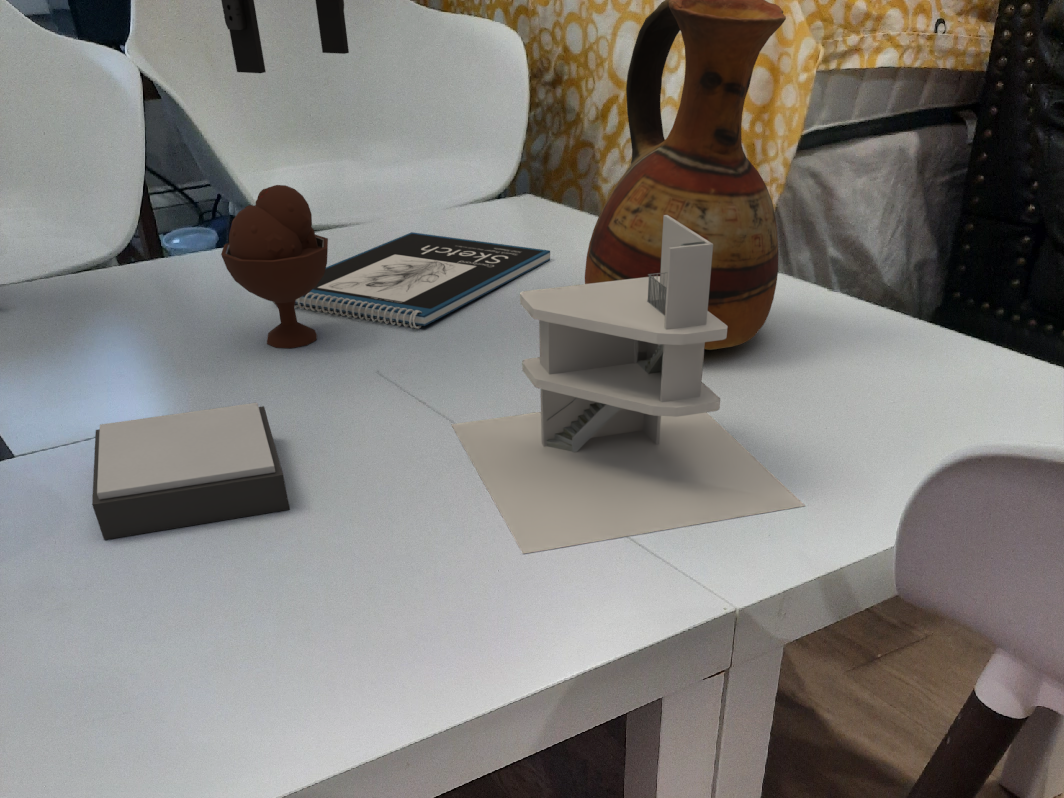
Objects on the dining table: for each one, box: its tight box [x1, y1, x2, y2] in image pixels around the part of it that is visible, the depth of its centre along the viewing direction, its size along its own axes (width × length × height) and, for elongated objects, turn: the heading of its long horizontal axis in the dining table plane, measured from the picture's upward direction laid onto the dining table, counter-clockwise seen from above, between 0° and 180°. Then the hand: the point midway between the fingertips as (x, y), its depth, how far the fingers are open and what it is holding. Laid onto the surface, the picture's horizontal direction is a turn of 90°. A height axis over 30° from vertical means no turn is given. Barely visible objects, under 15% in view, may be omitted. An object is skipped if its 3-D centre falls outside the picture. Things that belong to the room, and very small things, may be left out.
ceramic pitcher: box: [584, 0, 787, 351], centre depth 98 cm, size 20×20×30 cm
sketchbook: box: [272, 231, 551, 330], centre depth 123 cm, size 22×30×2 cm
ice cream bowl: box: [220, 184, 329, 349], centre depth 104 cm, size 11×11×15 cm
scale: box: [91, 402, 291, 541], centre depth 82 cm, size 14×14×4 cm
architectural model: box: [451, 215, 806, 555], centre depth 79 cm, size 23×24×18 cm
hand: (295, 62), depth 97 cm, fingers open, 13 cm apart
